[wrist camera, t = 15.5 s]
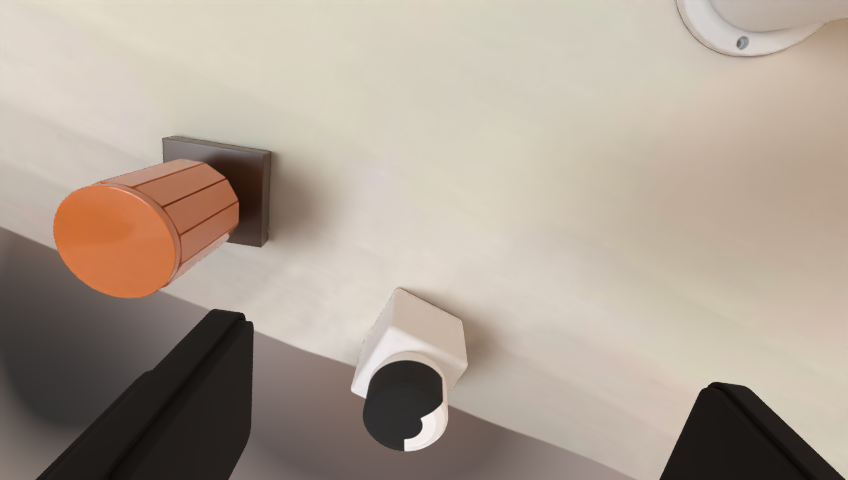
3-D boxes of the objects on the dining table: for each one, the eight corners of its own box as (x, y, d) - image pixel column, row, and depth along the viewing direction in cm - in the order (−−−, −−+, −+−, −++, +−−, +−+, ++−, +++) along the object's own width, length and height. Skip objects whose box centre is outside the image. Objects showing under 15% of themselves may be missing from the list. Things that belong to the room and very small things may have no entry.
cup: (144, 152, 31) (44, 175, 23) (239, 167, 31) (173, 195, 23) (150, 240, 33) (60, 289, 25) (238, 253, 33) (177, 306, 25)
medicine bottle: (361, 343, 41) (335, 439, 30) (397, 285, 39) (383, 365, 28) (426, 374, 43) (424, 478, 31) (463, 319, 40) (475, 410, 29)
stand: (173, 135, 35) (41, 160, 23) (271, 151, 35) (190, 184, 23) (177, 227, 38) (60, 292, 26) (267, 241, 38) (194, 311, 26)
